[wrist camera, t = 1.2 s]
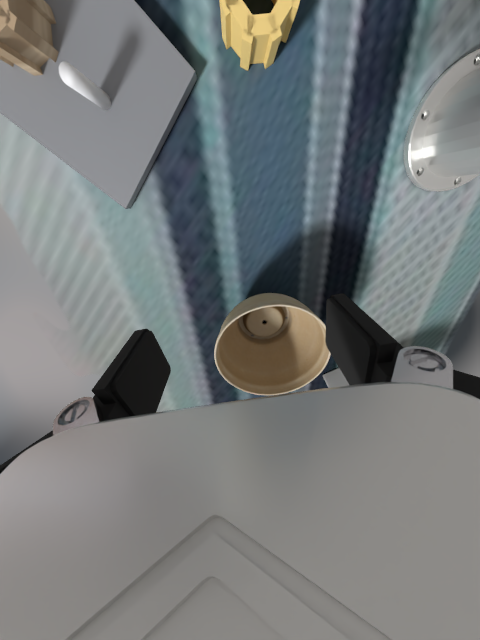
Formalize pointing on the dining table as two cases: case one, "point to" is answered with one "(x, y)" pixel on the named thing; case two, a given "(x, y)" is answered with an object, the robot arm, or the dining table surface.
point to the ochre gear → (256, 30)
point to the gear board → (102, 93)
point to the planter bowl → (271, 345)
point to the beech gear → (26, 34)
